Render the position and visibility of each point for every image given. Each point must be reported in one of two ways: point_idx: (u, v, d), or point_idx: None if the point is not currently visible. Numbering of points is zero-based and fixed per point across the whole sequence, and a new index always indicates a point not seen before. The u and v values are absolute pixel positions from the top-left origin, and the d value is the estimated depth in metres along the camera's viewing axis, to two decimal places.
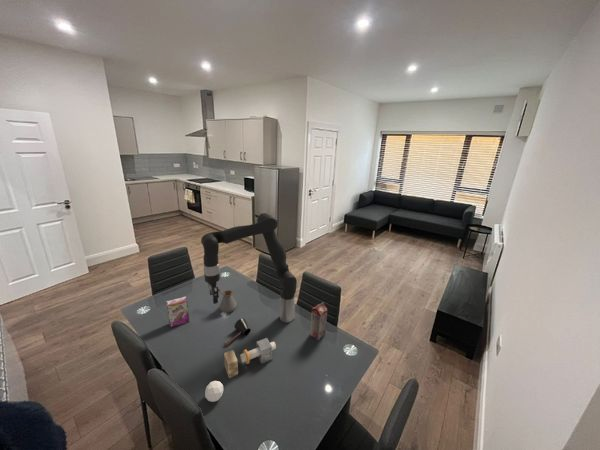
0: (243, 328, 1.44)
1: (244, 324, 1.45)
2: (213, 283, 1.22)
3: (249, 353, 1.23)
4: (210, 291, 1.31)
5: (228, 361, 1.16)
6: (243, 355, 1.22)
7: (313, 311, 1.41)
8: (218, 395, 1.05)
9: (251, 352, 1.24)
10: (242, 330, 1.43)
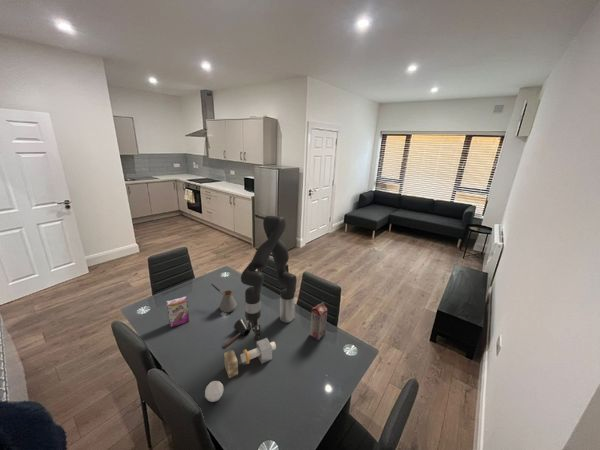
0: (243, 328, 1.43)
1: (244, 324, 1.45)
2: (254, 320, 1.15)
3: (249, 353, 1.23)
4: (248, 326, 1.24)
5: (228, 361, 1.16)
6: (243, 355, 1.22)
7: (313, 311, 1.41)
8: (218, 395, 1.05)
9: (251, 352, 1.24)
10: (242, 330, 1.43)
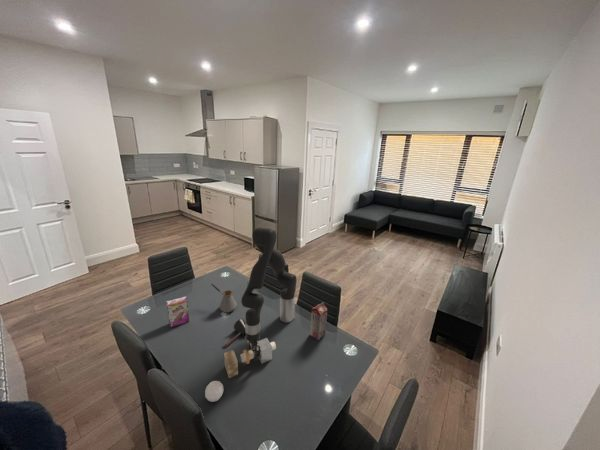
0: (242, 329, 1.43)
1: (243, 325, 1.45)
2: (254, 341, 1.19)
3: (249, 353, 1.23)
4: (249, 346, 1.28)
5: (228, 361, 1.16)
6: (243, 355, 1.22)
7: (313, 311, 1.41)
8: (218, 395, 1.05)
9: (251, 352, 1.24)
10: (241, 331, 1.43)
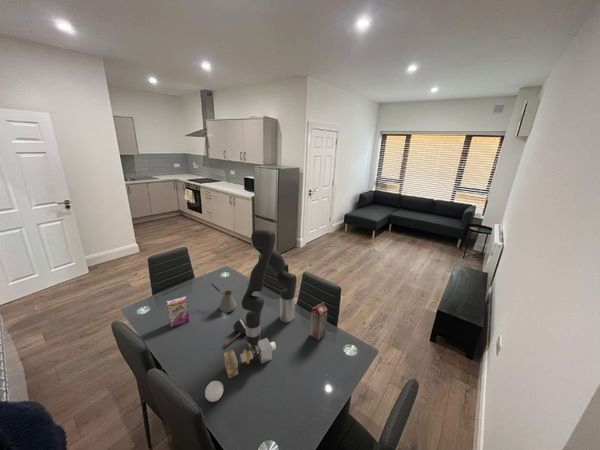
0: (242, 329, 1.43)
1: (243, 325, 1.45)
2: (254, 343, 1.19)
3: (249, 353, 1.23)
4: None
5: (228, 361, 1.16)
6: (243, 355, 1.22)
7: (313, 311, 1.41)
8: (218, 395, 1.05)
9: (251, 352, 1.24)
10: (241, 331, 1.42)
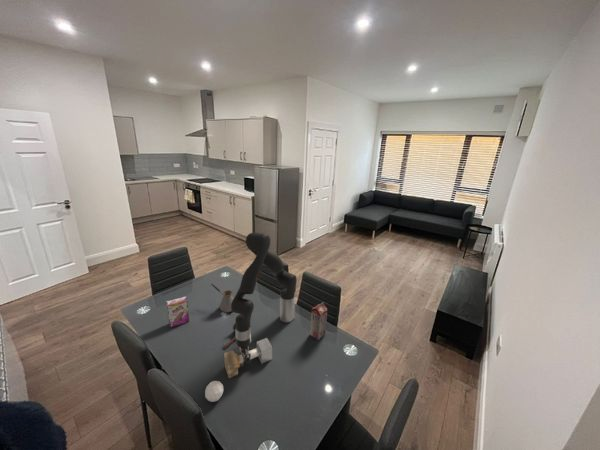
0: None
1: None
2: (245, 347, 1.17)
3: (239, 357, 1.21)
4: None
5: (228, 361, 1.16)
6: None
7: (313, 311, 1.41)
8: (218, 395, 1.05)
9: (241, 356, 1.22)
10: None
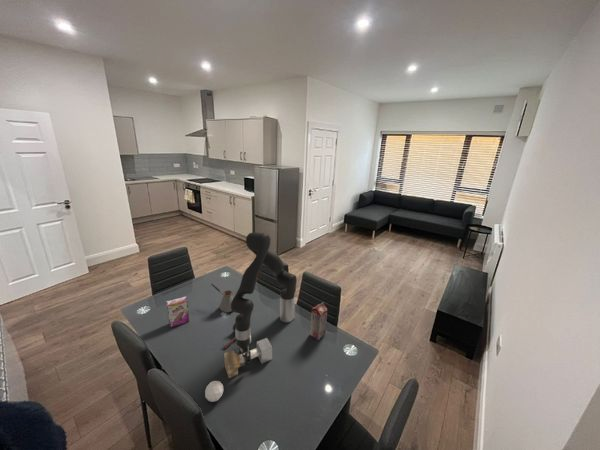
0: None
1: None
2: (244, 346, 1.17)
3: (239, 357, 1.21)
4: (240, 351, 1.26)
5: (228, 361, 1.16)
6: None
7: (313, 311, 1.41)
8: (218, 395, 1.05)
9: (241, 356, 1.22)
10: None
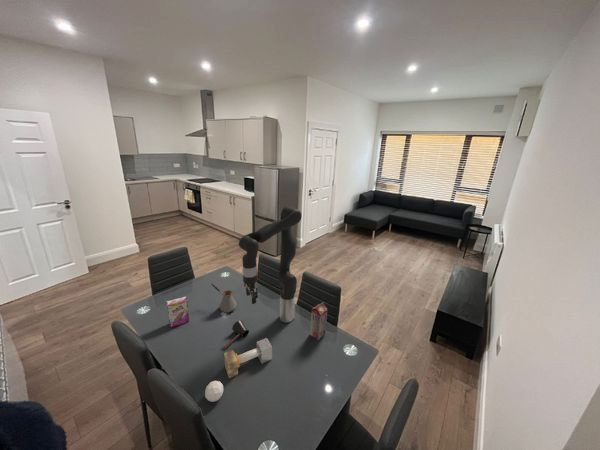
0: (241, 330, 1.42)
1: (242, 326, 1.44)
2: (251, 284, 1.25)
3: (239, 357, 1.21)
4: (247, 292, 1.34)
5: (228, 361, 1.16)
6: None
7: (313, 311, 1.41)
8: (218, 395, 1.05)
9: (241, 356, 1.22)
10: (240, 332, 1.42)
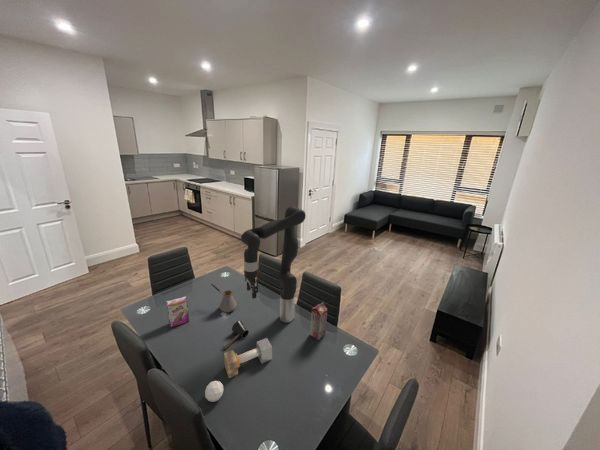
0: (241, 330, 1.42)
1: (242, 326, 1.44)
2: (252, 278, 1.27)
3: (239, 357, 1.21)
4: (247, 286, 1.36)
5: (228, 361, 1.16)
6: None
7: (313, 311, 1.41)
8: (218, 395, 1.05)
9: (241, 356, 1.22)
10: (240, 332, 1.41)
